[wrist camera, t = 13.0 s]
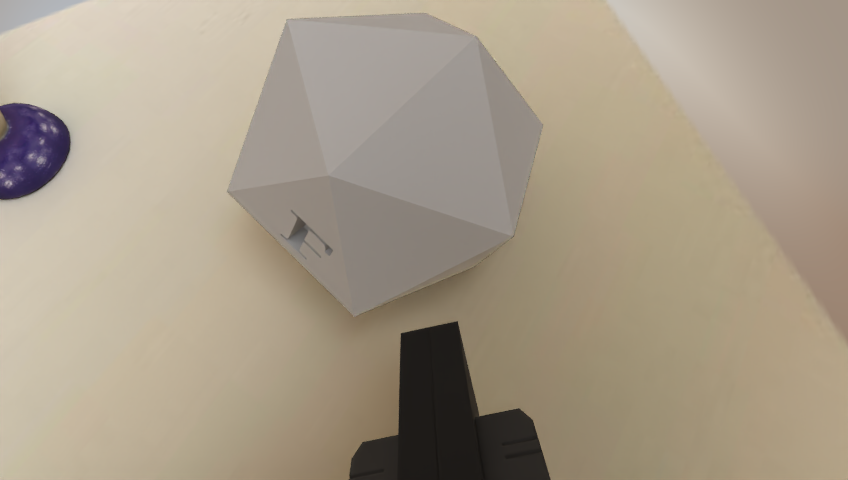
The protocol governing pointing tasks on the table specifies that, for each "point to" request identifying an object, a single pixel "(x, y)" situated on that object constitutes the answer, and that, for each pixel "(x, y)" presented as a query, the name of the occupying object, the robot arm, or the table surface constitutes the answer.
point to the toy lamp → (29, 148)
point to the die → (385, 153)
